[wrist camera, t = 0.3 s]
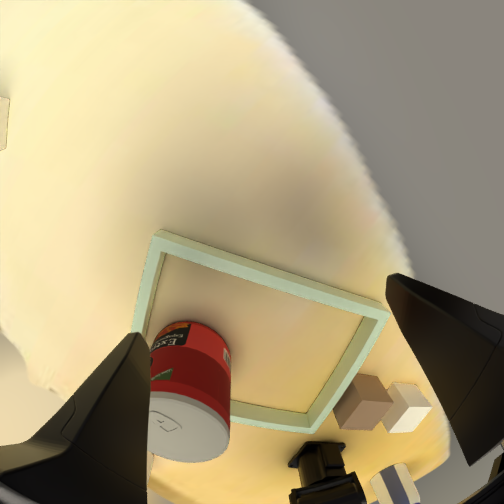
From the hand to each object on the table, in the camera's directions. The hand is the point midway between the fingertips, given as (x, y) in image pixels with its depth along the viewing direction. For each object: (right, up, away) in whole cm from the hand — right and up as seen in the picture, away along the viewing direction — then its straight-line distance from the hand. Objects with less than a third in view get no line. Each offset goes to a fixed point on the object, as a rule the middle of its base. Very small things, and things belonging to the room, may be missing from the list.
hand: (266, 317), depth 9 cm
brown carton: (+11, -14, +20) cm, 27 cm away
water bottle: (+26, -41, +28) cm, 56 cm away
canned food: (-6, -8, +18) cm, 20 cm away
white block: (+18, -17, +21) cm, 33 cm away
